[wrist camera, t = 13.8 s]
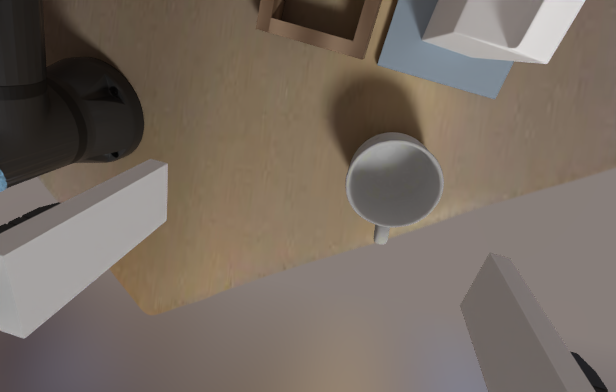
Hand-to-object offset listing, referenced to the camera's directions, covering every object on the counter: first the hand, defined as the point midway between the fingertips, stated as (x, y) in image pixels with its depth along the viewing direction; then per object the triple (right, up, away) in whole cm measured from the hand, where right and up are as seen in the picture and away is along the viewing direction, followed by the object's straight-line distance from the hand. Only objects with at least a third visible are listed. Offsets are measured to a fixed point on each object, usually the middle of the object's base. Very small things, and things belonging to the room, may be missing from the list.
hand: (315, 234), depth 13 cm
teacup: (+11, +4, +32) cm, 34 cm away
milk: (+16, +21, +22) cm, 34 cm away
